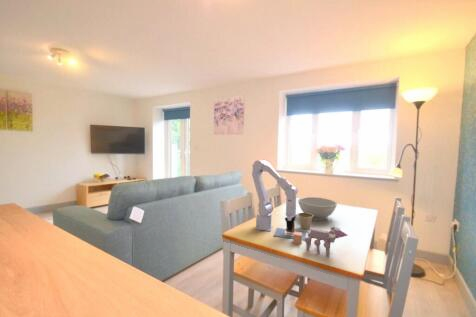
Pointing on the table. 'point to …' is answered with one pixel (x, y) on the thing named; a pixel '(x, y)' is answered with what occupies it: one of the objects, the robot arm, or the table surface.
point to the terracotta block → (297, 237)
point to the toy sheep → (323, 238)
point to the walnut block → (292, 228)
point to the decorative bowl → (317, 207)
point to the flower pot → (305, 220)
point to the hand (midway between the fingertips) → (290, 228)
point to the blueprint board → (288, 233)
